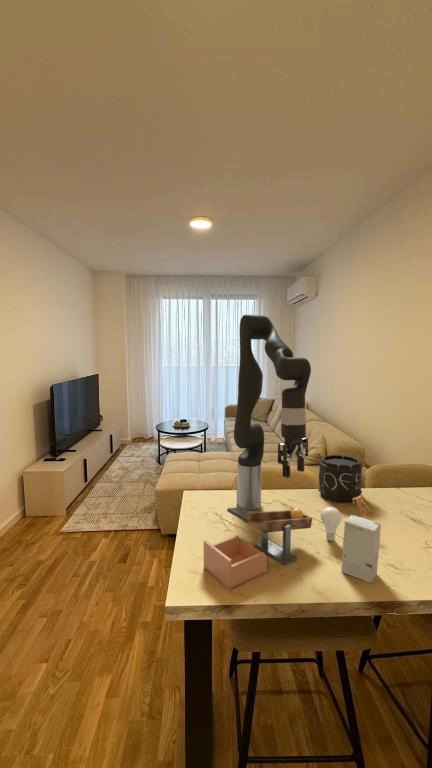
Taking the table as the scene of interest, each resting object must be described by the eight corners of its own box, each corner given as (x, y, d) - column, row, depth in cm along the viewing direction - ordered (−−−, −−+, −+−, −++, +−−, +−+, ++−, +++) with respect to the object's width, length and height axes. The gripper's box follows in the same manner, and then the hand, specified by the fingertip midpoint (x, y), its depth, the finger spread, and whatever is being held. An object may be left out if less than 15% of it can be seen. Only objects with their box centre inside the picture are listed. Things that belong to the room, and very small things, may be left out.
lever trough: (271, 508, 127) (272, 499, 127) (310, 528, 113) (312, 518, 113) (227, 511, 116) (228, 501, 116) (264, 533, 101) (266, 522, 102)
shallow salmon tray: (203, 568, 102) (203, 540, 102) (239, 553, 110) (239, 528, 109) (229, 590, 93) (229, 560, 92) (266, 572, 100) (266, 545, 99)
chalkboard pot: (341, 508, 142) (342, 469, 140) (309, 492, 158) (310, 457, 156) (372, 499, 150) (374, 462, 149) (339, 485, 166) (340, 452, 165)
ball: (287, 519, 115) (288, 507, 115) (295, 518, 117) (297, 506, 117) (296, 524, 112) (298, 511, 112) (305, 522, 114) (306, 510, 114)
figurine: (378, 531, 123) (379, 497, 122) (364, 535, 121) (365, 500, 120) (360, 521, 130) (361, 489, 129) (346, 524, 128) (347, 491, 127)
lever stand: (266, 541, 117) (266, 510, 116) (296, 560, 106) (297, 525, 105) (254, 546, 114) (254, 514, 113) (284, 565, 103) (285, 530, 102)
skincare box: (341, 572, 100) (342, 520, 99) (348, 562, 105) (350, 513, 103) (372, 584, 95) (374, 530, 93) (379, 574, 99) (381, 522, 98)
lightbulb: (340, 537, 119) (341, 505, 118) (340, 546, 113) (341, 513, 112) (320, 534, 121) (321, 502, 120) (319, 543, 115) (320, 510, 114)
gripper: (294, 418, 119) (294, 467, 120) (270, 423, 109) (270, 476, 109) (315, 420, 114) (315, 471, 115) (292, 425, 104) (292, 481, 104)
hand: (293, 474), depth 112 cm, fingers open, 8 cm apart
